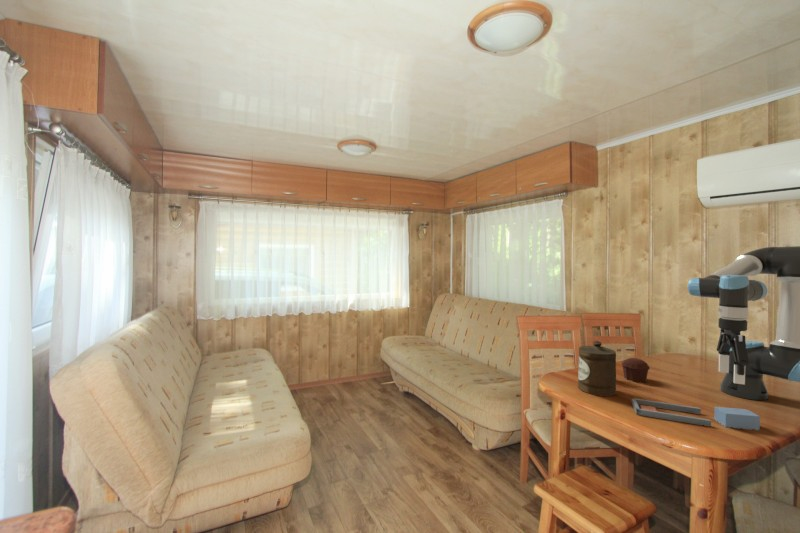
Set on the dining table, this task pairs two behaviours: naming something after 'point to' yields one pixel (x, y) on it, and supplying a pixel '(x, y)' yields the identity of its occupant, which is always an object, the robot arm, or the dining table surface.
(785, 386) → the dining table surface
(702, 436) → the dining table surface
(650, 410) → the grey flat frame
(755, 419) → the slate block
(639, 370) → the muffin
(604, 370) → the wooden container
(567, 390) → the dining table surface
